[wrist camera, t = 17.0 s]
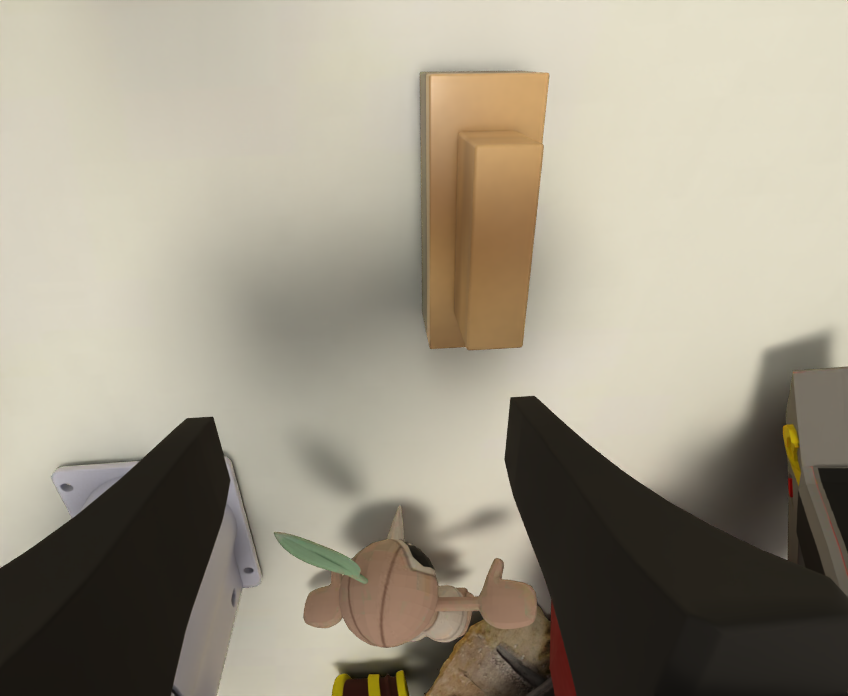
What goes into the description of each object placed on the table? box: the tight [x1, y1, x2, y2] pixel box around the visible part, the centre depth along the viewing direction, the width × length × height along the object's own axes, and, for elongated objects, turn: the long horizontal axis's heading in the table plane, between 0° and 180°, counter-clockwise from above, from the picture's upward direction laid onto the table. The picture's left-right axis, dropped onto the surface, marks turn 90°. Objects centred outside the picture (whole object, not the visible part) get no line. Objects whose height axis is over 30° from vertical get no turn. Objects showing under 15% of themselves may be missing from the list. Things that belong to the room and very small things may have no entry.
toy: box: [274, 506, 537, 648], centre depth 24 cm, size 13×7×15 cm
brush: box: [420, 71, 549, 350], centre depth 17 cm, size 9×4×6 cm, turn 0°
